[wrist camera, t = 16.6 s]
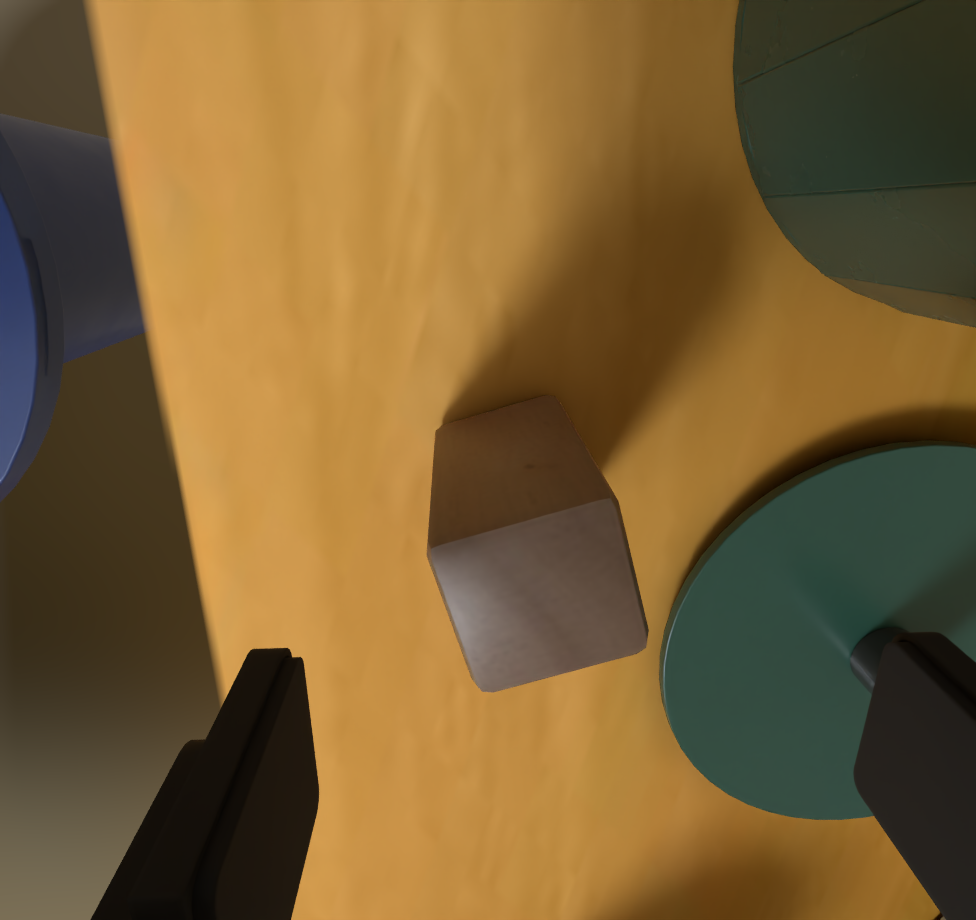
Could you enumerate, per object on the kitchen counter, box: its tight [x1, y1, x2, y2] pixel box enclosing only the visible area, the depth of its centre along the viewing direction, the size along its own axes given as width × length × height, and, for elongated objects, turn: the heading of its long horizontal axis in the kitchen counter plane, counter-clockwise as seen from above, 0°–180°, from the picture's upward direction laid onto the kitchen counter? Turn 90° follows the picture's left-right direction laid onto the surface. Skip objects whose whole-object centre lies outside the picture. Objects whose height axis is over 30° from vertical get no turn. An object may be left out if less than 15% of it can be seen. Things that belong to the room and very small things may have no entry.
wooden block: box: [427, 395, 649, 692], centre depth 17 cm, size 4×4×8 cm
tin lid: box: [659, 440, 976, 820], centre depth 21 cm, size 16×16×6 cm
